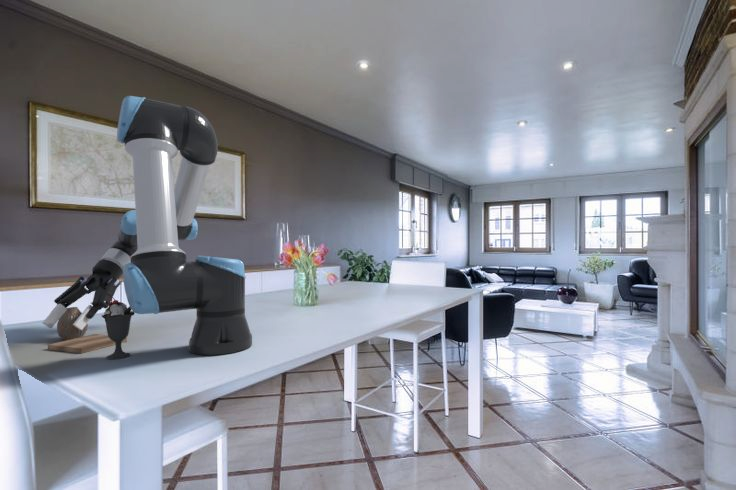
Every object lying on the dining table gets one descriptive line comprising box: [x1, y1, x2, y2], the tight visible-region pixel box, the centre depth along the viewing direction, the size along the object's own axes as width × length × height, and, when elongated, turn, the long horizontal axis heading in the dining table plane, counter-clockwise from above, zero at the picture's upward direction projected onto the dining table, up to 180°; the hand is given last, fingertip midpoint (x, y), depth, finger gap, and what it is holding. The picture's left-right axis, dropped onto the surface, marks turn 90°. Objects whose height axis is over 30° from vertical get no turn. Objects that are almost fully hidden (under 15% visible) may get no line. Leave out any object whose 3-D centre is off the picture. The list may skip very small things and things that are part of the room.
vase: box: [56, 306, 89, 341], centre depth 108 cm, size 7×7×9 cm
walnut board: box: [47, 333, 128, 354], centre depth 101 cm, size 12×12×1 cm
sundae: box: [101, 294, 136, 360], centre depth 91 cm, size 7×7×15 cm
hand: (61, 326), depth 105 cm, fingers open, 10 cm apart
